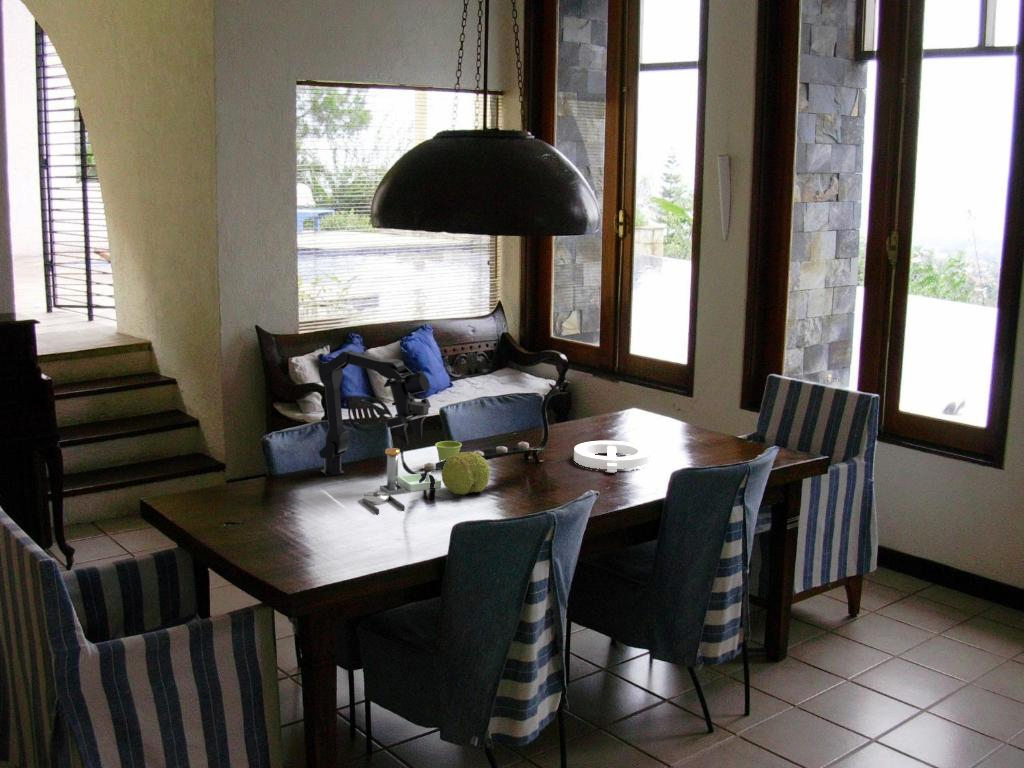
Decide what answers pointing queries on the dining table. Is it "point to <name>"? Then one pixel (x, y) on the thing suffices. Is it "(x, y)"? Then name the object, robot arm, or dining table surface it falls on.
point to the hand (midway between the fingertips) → (413, 441)
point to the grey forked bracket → (379, 500)
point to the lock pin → (392, 468)
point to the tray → (417, 482)
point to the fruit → (465, 473)
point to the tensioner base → (392, 492)
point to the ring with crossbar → (611, 455)
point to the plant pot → (447, 449)
